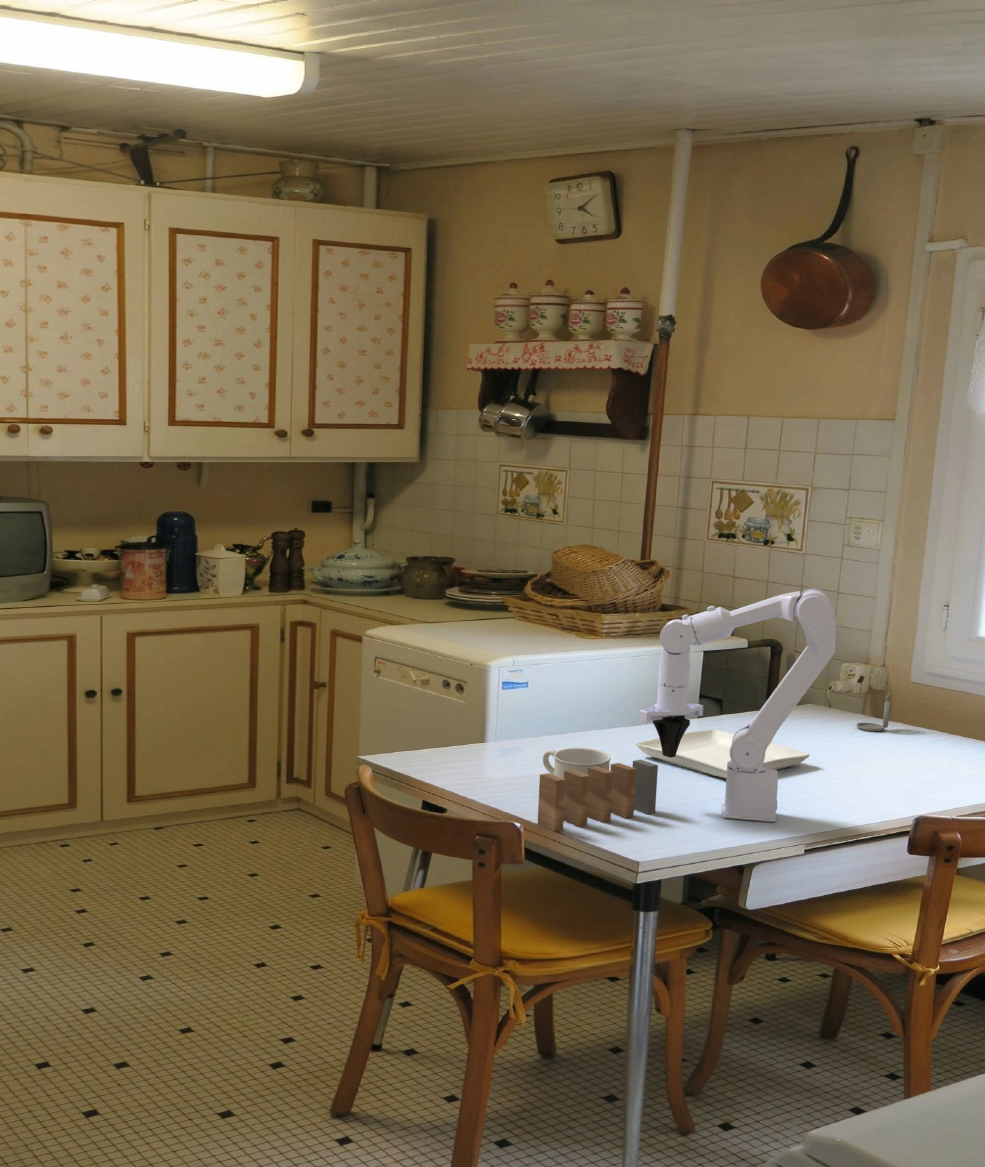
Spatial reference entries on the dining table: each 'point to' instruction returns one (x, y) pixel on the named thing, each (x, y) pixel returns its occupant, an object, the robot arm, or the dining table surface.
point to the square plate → (717, 752)
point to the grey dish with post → (876, 726)
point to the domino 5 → (645, 786)
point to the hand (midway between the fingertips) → (669, 756)
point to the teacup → (575, 760)
